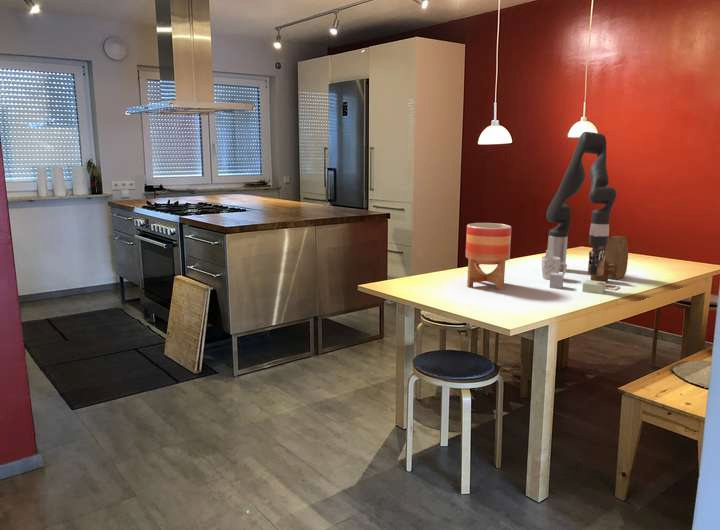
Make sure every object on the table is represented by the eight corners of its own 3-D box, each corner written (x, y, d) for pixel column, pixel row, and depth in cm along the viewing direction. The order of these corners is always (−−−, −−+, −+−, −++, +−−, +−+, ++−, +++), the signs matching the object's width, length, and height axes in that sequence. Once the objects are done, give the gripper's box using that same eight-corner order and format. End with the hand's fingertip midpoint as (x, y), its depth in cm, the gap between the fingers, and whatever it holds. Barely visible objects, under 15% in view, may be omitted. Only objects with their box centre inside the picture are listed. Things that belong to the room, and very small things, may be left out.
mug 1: (566, 278, 274) (568, 257, 272) (564, 281, 267) (566, 260, 265) (541, 275, 279) (543, 255, 277) (539, 279, 271) (540, 258, 270)
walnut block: (587, 274, 248) (588, 260, 246) (591, 272, 251) (592, 259, 250) (599, 276, 244) (600, 262, 243) (603, 274, 248) (604, 260, 247)
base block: (582, 292, 248) (583, 283, 247) (585, 288, 255) (586, 279, 254) (602, 294, 244) (602, 285, 243) (605, 291, 251) (605, 282, 250)
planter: (482, 292, 245) (486, 229, 240) (454, 282, 262) (456, 223, 257) (518, 287, 254) (522, 227, 249) (488, 278, 271) (491, 221, 266)
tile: (598, 287, 255) (598, 285, 255) (603, 285, 260) (603, 283, 260) (614, 290, 251) (615, 288, 251) (619, 287, 256) (620, 285, 256)
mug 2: (620, 283, 265) (622, 263, 264) (611, 285, 261) (613, 264, 259) (595, 278, 275) (597, 259, 273) (587, 280, 270) (588, 260, 268)
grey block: (549, 287, 255) (550, 274, 253) (551, 285, 259) (552, 272, 258) (561, 289, 253) (562, 275, 251) (562, 286, 257) (563, 273, 256)
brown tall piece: (614, 280, 271) (618, 238, 267) (600, 277, 277) (604, 236, 273) (628, 278, 277) (632, 236, 273) (614, 275, 283) (618, 234, 279)
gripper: (595, 231, 252) (592, 269, 255) (584, 235, 242) (580, 274, 245) (613, 233, 248) (609, 272, 251) (602, 236, 237) (598, 277, 240)
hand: (595, 273), depth 248 cm, fingers closed on walnut block, 5 cm apart
